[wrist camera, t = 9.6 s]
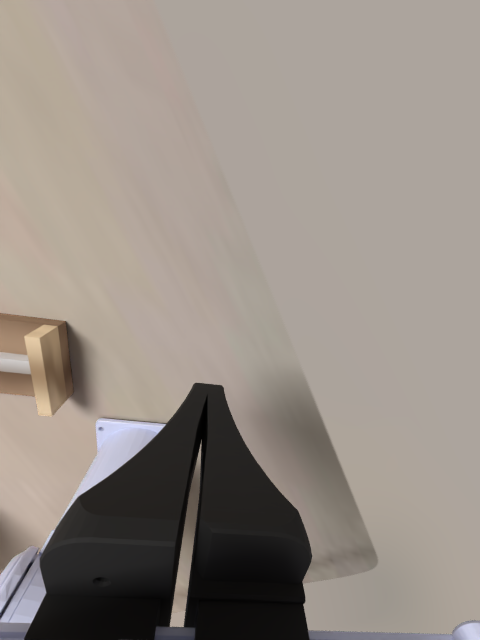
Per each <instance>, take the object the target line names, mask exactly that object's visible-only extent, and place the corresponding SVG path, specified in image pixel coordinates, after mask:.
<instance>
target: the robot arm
mask: <svg viewBox="0 0 480 640" xmlns="http://www.w3.org/2000/svg"><path fill="white" fill-rule="evenodd" d="M102 427H103V428H102ZM96 435H97V448H98V454H97V455H96V457H95V459H94V461H93V462H92V464H91V466H90V468H89V470H88V471H87V473H86V475H85V477H84V478H83V480H82V482H81V484H80V486H79V487H78V489H77V491H76V493H75V494H74V496H73V498H72V500H71V502H70V503H69V505H68V507H67V509H66V510H65V512H64V514H63V516H62V518H61V519H60V521H59V523H58V525H57V526H56V528H55V530H52V531H51V533H50V535H49V537H48V538H47V540H46V542H45V544H44V545H43V547H42V549H41V551H40V552H39V554H37V552H38V550H39V548H38V547H35V546H30V547H28V548H27V549H26V550H25V551H23V552H21V553H19V554H18V555H16V556H14V557H13V558H12V560H11V561H10V562H9V564H8V565H7V566H6V568H5V569H4V570H3V572H2V573H1V575H0V640H480V621H476V620H474V621H473V620H472V621H466V622H463V623H461V624H459V625H458V626H457V627H455V629H454V630H453V632H452V634H420V633H383V632H382V633H381V632H344V631H308V628H307V623H306V617H305V612H304V606H303V604H304V603H305V593H304V588H303V583H302V581H303V579H304V576H305V574H306V572H307V570H308V568H309V566H310V563H311V559H312V553H311V547H310V543H309V540H308V536H307V533H306V530H305V528H304V525H303V522H302V519H301V517H300V514H299V512H298V510H297V509H296V508H295V507H294V506H293V505H292V504H291V503H290V502H289V501H288V500H287V499H286V498H285V497H284V496H283V495H282V494H281V492H280V491H279V490H278V489H277V488H276V487H275V485H274V484H273V483H272V482H271V480H270V479H269V478H268V477H267V475H266V474H265V473H264V471H263V470H262V468H261V467H260V466H259V464H258V463H257V462H256V460H255V459H254V457H253V456H252V454H251V452H250V451H249V449H248V447H247V446H246V444H245V442H244V441H243V439H242V437H241V435H240V433H239V431H238V429H237V427H236V425H235V422H234V420H233V418H232V415H231V412H230V410H229V407H228V404H227V401H226V398H225V394H224V388H223V387H222V385H213V384H203V383H195V384H193V387H192V389H191V391H190V393H189V394H188V396H187V397H186V399H185V401H184V402H183V403H182V405H181V406H180V408H179V409H178V410H177V412H176V413H175V414H174V415H173V417H172V418H171V419H170V420H169V422H168V423H167V424H159V423H149V422H138V421H127V420H116V419H106V418H100V419H98V420H97V422H96ZM201 439H202V446H201V473H200V493H199V504H198V512H197V521H196V529H195V537H194V546H193V554H192V563H191V571H190V579H189V588H188V596H187V604H186V612H185V621H184V627H170V619H171V613H172V606H173V599H174V592H175V585H176V579H177V572H178V565H179V558H180V551H181V545H182V538H183V531H184V524H185V517H186V511H187V504H188V497H189V492H190V487H191V483H192V478H193V474H194V470H195V465H196V461H197V457H198V452H199V448H200V444H201Z"/></svg>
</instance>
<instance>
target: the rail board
mask: <svg viewBox="0 0 480 640" xmlns="http://www.w3.org/2000/svg"><path fill="white" fill-rule="evenodd" d="M73 392H74V391H73V382H72V373H71V364H70V355H69V347H68V338H67V329H66V321H59V320H51V319H43V318H35V317H27V316H18V315H10V314H2V313H0V393H5V394H15V395H26V396H35V398H36V403H37V409H38V414H39V415H42V416H53V415H54V414H55V413H56V411H57V410H58V409H59V408H60V407H61V406H62V405H63V404H64V402H65V401H66V400H67V399H68V398H69V397H70V396H71V395H72V393H73Z"/></svg>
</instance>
